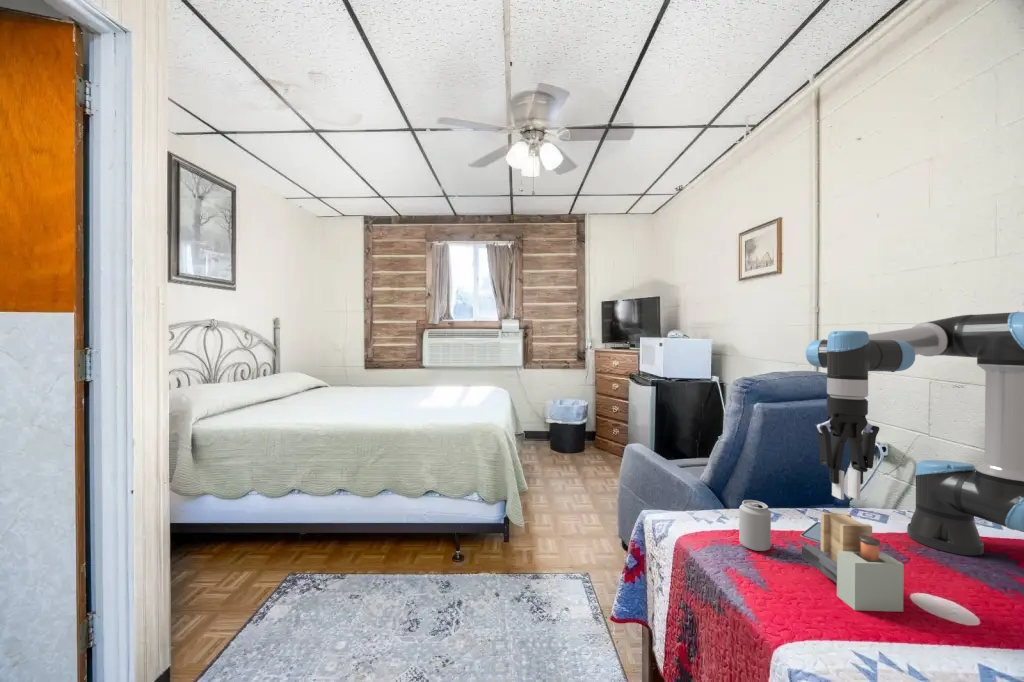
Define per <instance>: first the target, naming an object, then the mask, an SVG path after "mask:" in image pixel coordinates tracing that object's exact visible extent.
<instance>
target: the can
mask: <svg viewBox="0 0 1024 682" xmlns="http://www.w3.org/2000/svg"><path fill="white" fill-rule="evenodd" d="M738 511H739V512H738V513H739V514H738V515H739V516H738V517H739V520H738V521H739V523H738V526H739V527H738V528H739V530H738V533H739V534H738V535H739V537H738V542H739V543H740V544H741V546H742V547H744V546H745V547H747V548H749V549H752V550H756V551H765V552H767V551H768V550H770V549H771V541H772V540H771V539H772V538H771V536H772V535H771V534H772V533H771V531H772V529H771V527H772V526H771V524H772V522H771V521H772V520H771V517H772V511H771V510H770V509H769V506H768V505H767V504H766V503H764V502H762V501H759V500H755V499H754V500H753V499H744V500H743V501H742V502H741V505H740V506H739V510H738ZM745 547H744V548H745ZM747 548H746V549H747ZM749 549H748V550H749ZM752 550H751V551H752ZM766 550H767V551H766Z"/></svg>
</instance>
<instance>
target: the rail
mask: <svg viewBox="0 0 1024 682" xmlns="http://www.w3.org/2000/svg"><path fill="white" fill-rule="evenodd" d="M819 554H825V552H823V551H821V549H818V548H817V546H815V545H801V558H802V557H803V558H802V559H804V560H805V561H807V563H809V564H810V565H812V566H813V567H814V568H816V569H817V570H818V571H819V572H820V573H822V564H821V563H819ZM822 574H824V573H822ZM824 576H826V575H825V574H824ZM826 577H827V578H828V579H830V578H829V577H828V576H826ZM830 580H831V581H832V582H834V581H833V580H832V579H830ZM835 584H836V585H837V583H835Z"/></svg>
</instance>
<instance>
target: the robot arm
mask: <svg viewBox="0 0 1024 682" xmlns="http://www.w3.org/2000/svg"><path fill="white" fill-rule="evenodd" d="M918 355H920V356H923V357H936V356H948V357H962V358H976V365H977V366H978V367H979V368H981V369H982V370H983V371H984V372H985V377H984V378H985V382H984V383H985V385H984V386H985V388H984V398H985V399H984V459H983V460H984V462H983V463H982V464H980V465H978V466H976V467H975V465H973V464H971V463H968V462H962V461H955V460H953V461H952V460H942V459H941V460H939V459H938V460H937V459H925V460H924V459H923V460H920V461H918V462H917V463H916V465H915V466H916V468H915V474H914V475H915V509H914V511H913V514H912V516H911V519H910V522H909V523H908V524H907V527H906V534H907V536H908V537H909V538H910V539H912V540H913V541H915V542H917V543H920V544H921V545H924V546H927V547H930V548H931V549H935V550H939V551H942V552H947V553H951V554H956V555H962V556H970V557H971V556H973V557H975V556H981V555H983V554H984V551H985V550H984V548H985V546H984V542H983V540H982V539H981V537H980V533H979V530H978V528H977V526H976V523H975V518H978V519H981V520H984V521H987V522H990V523H994V524H996V525H1000V526H1003V527H1005V528H1007V529H1009V530H1011V531H1012V530H1013V531H1018V532H1022V533H1024V311H1016V312H1015V311H1014V312H1001V313H1000V312H999V313H998V312H997V313H982V314H981V313H980V314H979V313H978V314H962V315H956V316H950V317H945V318H941V319H936V320H931V321H928V322H927V321H926V322H919V323H917V324H915V325H914V326H912V327H910V328H903V329H897V330H889V331H884V332H877V333H868V332H867V331H865V330H835V331H831V332H829V333H828V336H827V339H817V340H813V341H811V342H809V344H808V345H807V346H806V349H805V357H806V361H807V362H808V363H809V364H810V365H811V366H813V367H817V368H818V367H819V368H823V369H826V373H827V375H826V376H827V377H826V394H827V395H829V396H827V397H826V412H827V414H828V415H827V417H826V420H825V422H822V423H815V424H814V429H815V430H816V433H817V439H818V440H817V441H818V452H819V463H820V465H821V466H825V467H827V468H828V470H829V475H828V476H829V478H828V480H829V482H830V483H831V496H832V497H834V498H837V499H839V500H845V471H844V470H842V463H843V456H844V451H845V444H846V443H847V444H848V451H849V458H850V465H851V467H847V496H848V497H850V498H852V499H854V500H857V501H861V485H863V484H864V473H867V472H868V471H869V469H872V468H874V460H875V459H874V458H875V449H876V440H877V435H878V433H879V431H880V426H877V425H874V424H871V423H868V419H867V417H866V416H867V415H868V413H869V401H868V400H867V397H868V396H869V372H889V373H895V372H902V371H905V370H908V369H909V368H911V367H912V366H913V364H914V363H915V361H916V356H918Z"/></svg>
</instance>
